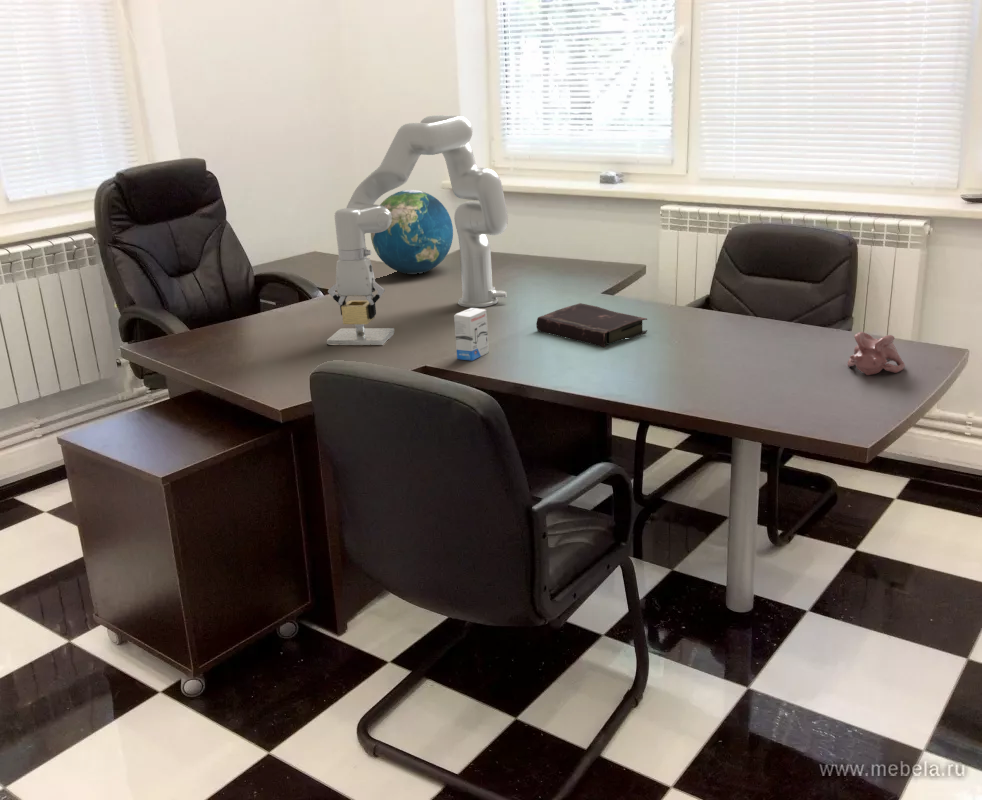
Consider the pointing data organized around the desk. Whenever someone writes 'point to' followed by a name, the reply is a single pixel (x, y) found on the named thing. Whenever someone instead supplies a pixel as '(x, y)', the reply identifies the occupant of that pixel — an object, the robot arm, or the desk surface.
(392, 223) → the globe
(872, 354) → the figurine
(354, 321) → the tan block
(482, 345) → the ink box
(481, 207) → the robot arm
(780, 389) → the desk surface
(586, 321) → the diary
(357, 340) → the post block
